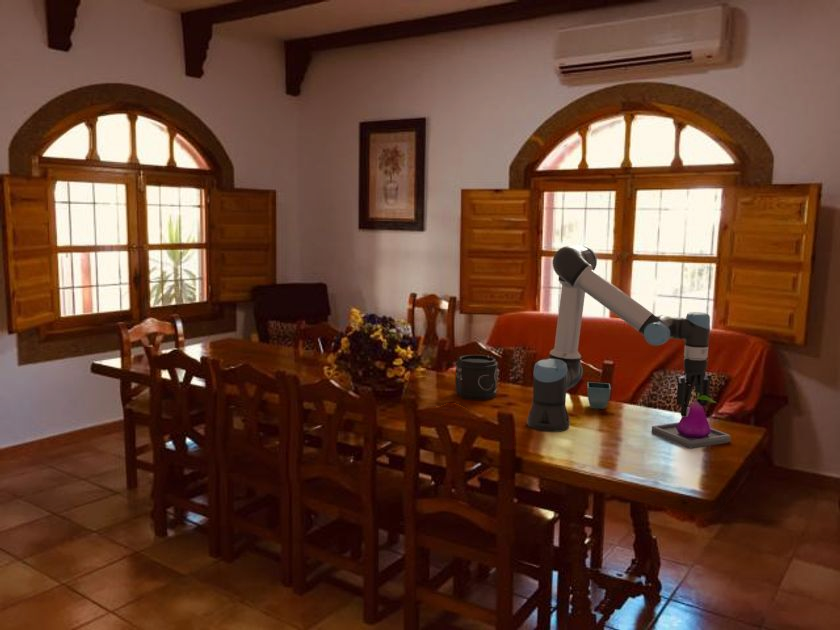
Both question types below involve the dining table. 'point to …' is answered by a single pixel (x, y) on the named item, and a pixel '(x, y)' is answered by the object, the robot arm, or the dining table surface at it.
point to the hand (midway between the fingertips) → (691, 424)
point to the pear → (695, 420)
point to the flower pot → (598, 394)
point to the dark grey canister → (476, 377)
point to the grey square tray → (672, 435)
